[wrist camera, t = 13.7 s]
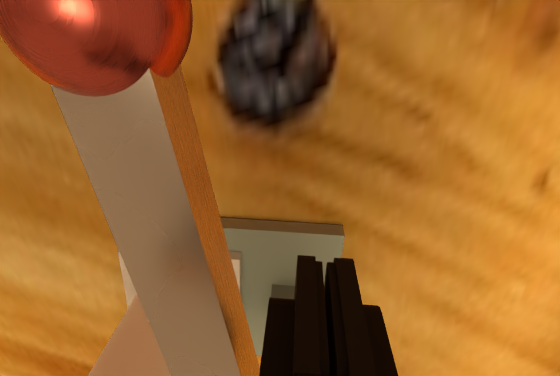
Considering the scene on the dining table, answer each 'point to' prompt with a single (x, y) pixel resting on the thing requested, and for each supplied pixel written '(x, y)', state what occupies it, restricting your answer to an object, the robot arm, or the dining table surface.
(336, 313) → the robot arm
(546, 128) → the dining table surface
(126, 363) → the can
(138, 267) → the lever
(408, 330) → the dining table surface
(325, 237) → the press
